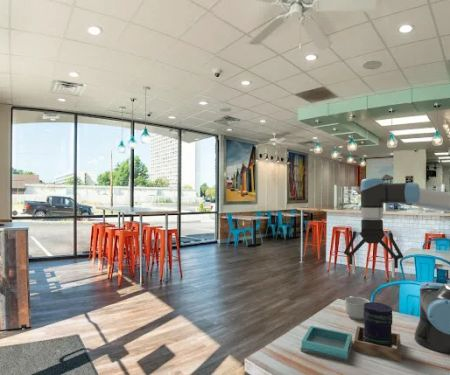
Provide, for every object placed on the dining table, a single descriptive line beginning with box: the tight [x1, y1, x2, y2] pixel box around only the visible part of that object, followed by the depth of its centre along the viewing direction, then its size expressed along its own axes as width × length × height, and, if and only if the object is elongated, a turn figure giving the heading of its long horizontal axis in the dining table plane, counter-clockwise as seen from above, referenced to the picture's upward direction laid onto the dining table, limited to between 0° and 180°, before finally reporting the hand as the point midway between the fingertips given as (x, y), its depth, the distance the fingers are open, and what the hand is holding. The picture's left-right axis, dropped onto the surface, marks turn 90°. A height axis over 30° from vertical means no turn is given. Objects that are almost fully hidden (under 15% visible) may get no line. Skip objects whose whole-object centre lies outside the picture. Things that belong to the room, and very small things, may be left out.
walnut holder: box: [353, 325, 402, 362], centre depth 117 cm, size 15×15×4 cm
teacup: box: [344, 295, 371, 321], centre depth 148 cm, size 14×11×8 cm
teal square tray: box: [300, 325, 354, 363], centre depth 116 cm, size 16×16×4 cm
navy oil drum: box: [362, 301, 393, 348], centre depth 117 cm, size 10×10×15 cm
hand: (372, 275), depth 119 cm, fingers open, 13 cm apart
